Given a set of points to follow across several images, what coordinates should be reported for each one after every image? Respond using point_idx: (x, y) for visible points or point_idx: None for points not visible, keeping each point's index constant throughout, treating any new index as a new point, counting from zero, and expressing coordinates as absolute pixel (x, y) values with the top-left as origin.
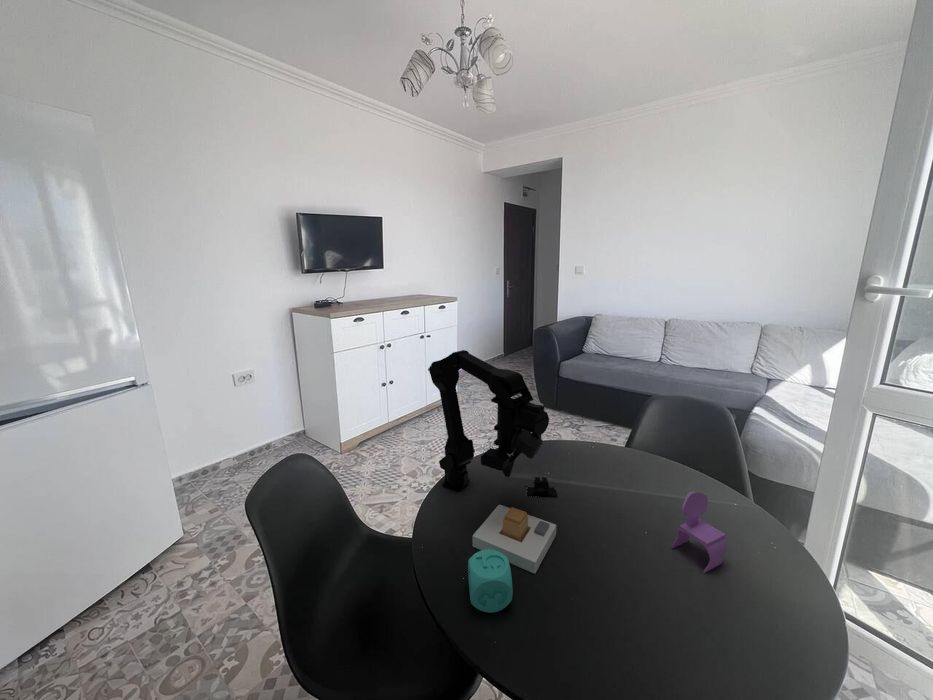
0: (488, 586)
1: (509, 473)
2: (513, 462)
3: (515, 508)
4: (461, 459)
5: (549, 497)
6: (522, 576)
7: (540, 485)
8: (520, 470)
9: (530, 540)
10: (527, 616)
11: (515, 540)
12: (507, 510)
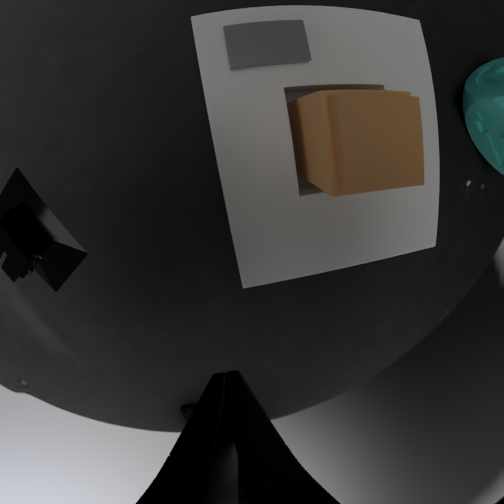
0: None
1: (239, 394)
2: (188, 482)
3: (346, 169)
4: (245, 492)
5: (32, 188)
6: None
7: (22, 238)
8: (27, 337)
9: (354, 59)
10: (473, 28)
11: None
12: (253, 238)
